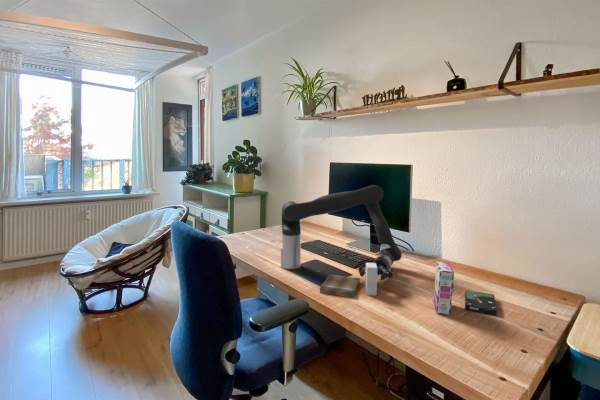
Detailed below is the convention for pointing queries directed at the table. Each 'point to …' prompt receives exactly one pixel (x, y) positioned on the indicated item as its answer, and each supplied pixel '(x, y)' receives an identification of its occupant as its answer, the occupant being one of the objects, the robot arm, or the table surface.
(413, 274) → the table surface
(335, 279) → the walnut riser
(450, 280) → the candy bar box
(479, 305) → the disk drive
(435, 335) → the table surface
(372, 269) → the skincare box
